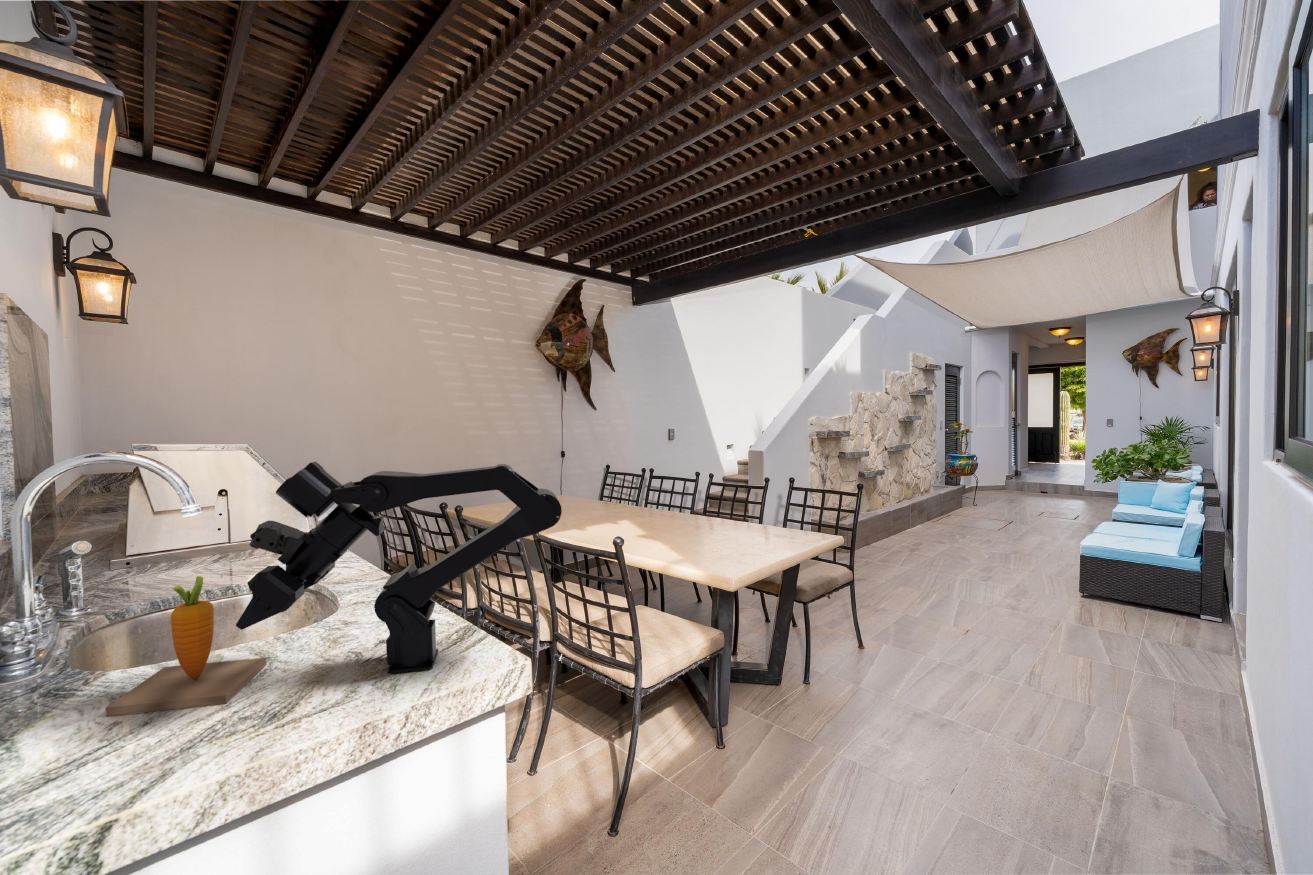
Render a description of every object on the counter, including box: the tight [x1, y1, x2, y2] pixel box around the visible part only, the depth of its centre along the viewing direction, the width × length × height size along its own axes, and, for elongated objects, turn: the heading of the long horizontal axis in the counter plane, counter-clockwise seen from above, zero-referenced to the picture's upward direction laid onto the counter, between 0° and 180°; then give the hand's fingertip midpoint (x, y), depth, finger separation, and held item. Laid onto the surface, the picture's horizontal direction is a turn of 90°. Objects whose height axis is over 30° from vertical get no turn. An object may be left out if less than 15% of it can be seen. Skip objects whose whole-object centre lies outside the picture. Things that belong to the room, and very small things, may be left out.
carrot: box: [170, 575, 215, 680], centre depth 81 cm, size 5×5×15 cm
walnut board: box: [105, 657, 268, 717], centre depth 81 cm, size 14×12×1 cm
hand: (253, 615), depth 83 cm, fingers open, 9 cm apart
